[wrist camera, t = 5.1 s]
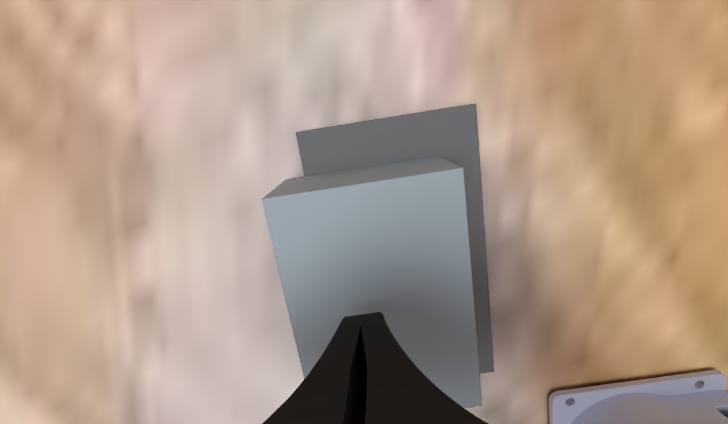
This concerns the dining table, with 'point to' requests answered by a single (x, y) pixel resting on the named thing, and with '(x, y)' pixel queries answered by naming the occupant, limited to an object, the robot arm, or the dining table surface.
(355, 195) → the slab
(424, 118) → the flat gray panel
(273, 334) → the dining table surface
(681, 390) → the robot arm
